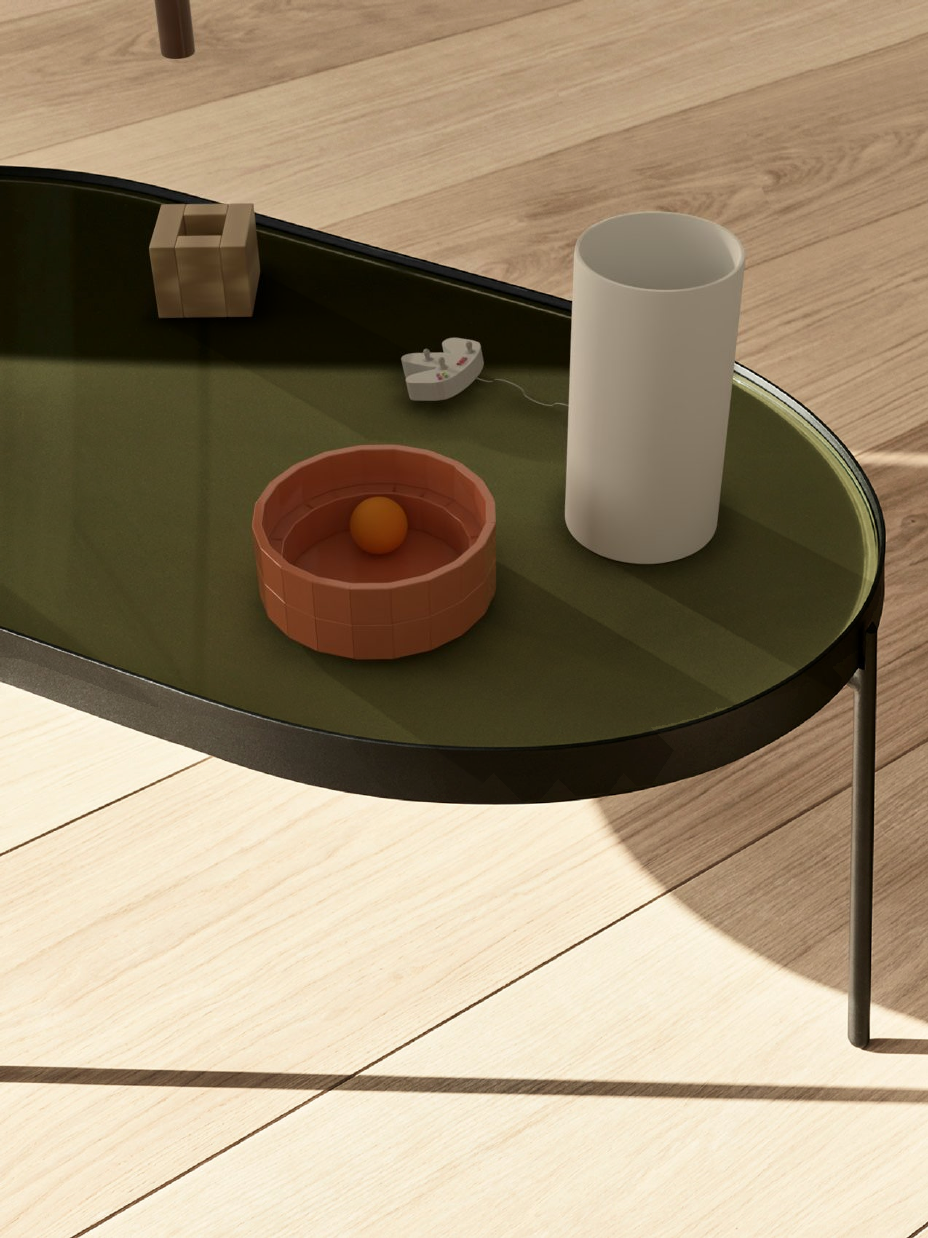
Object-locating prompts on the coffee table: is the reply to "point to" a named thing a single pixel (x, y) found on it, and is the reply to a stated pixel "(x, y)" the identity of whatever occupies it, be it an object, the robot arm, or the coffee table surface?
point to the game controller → (445, 370)
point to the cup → (650, 383)
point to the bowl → (375, 583)
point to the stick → (175, 28)
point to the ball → (378, 525)
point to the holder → (205, 260)
